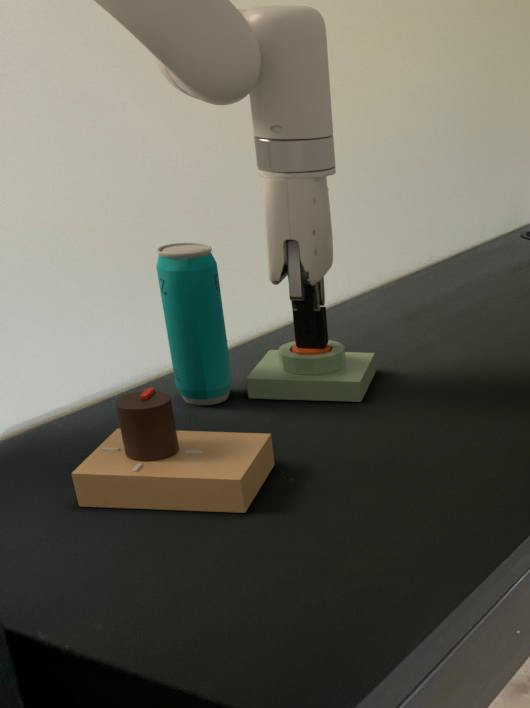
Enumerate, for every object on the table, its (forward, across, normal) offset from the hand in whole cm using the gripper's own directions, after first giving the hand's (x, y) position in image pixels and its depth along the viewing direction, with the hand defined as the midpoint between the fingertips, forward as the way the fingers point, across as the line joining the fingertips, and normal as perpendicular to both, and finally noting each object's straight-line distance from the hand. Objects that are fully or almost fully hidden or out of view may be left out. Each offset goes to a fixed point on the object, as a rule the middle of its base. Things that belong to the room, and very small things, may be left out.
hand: (312, 346), depth 105 cm
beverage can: (+4, +5, -10) cm, 13 cm away
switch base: (+4, 0, 0) cm, 4 cm away
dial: (+1, +27, -8) cm, 28 cm away
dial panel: (+4, +27, -6) cm, 28 cm away
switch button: (+2, 0, 0) cm, 2 cm away
